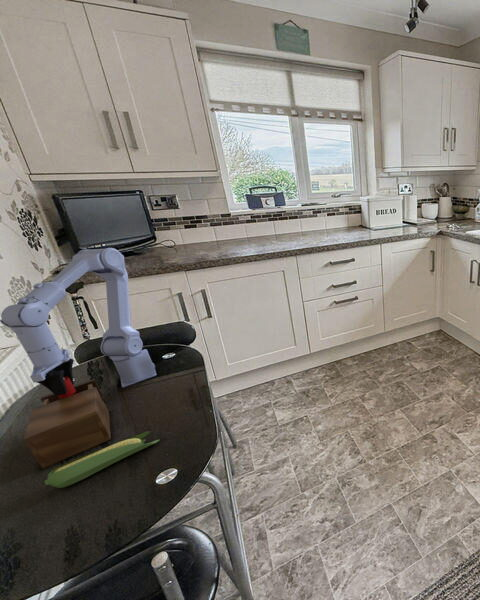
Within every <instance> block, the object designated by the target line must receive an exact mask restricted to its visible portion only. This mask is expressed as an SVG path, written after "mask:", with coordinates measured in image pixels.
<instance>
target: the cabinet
mask: <svg viewBox="0 0 480 600" xmlns="http://www.w3.org/2000/svg"><path fill="white" fill-rule="evenodd" d="M110 421H111V420H110V412H109V410H108V408H107V406H106V404H105V402H104V401H103V400H102V398H101V396H100V394H99V392H98V390H97V388H96V387H94V388H91V389H88V390H86V391H83V392H80V393H77V394H74V395H71V396H69V397H66V398H63V399H60V400H57V401H54V402H52V403H49V404H46V405H43V404H42V405H41V406H38V407H35V408H32V409H31V412H30V415H29V419H28V423H27V426H26V430H25V432H24V436H23V441H24V442H25V444H26V446H27V447H28V449H29V450H30V452H31V454H32V455H33V456H34V457H35V459H36V461H37V462H38V464H39V465H40V468H42V469H45V468H48V467H50V466H53V465H55V464H57V463H59V462H62V461H65V460H67V459H69V458H71V457H73V456H76V455H78V454H81V453H83V452H85V451H87V450H90V449H92V448H94V447H96V446H98V445H99V446H100V445H101V444H103V443H106V442H108V441H110V440H111V439H112V438H111V423H110Z"/></svg>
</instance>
